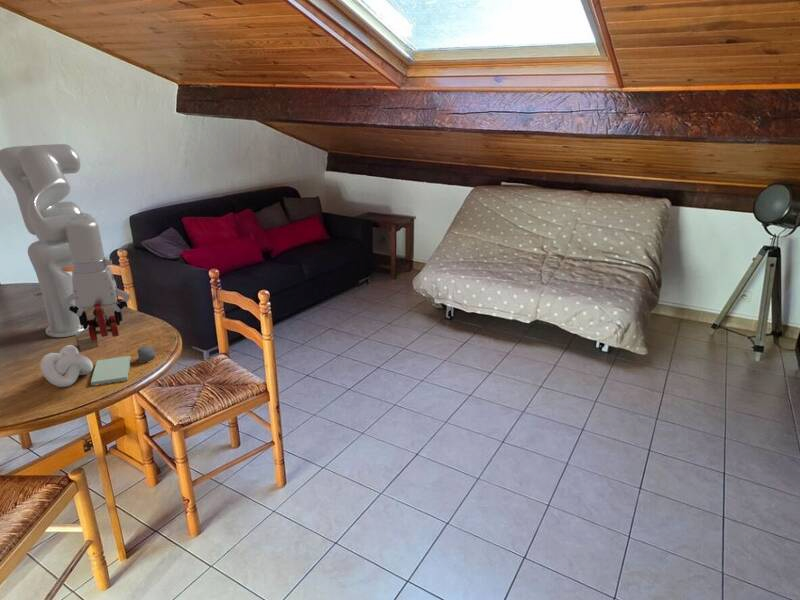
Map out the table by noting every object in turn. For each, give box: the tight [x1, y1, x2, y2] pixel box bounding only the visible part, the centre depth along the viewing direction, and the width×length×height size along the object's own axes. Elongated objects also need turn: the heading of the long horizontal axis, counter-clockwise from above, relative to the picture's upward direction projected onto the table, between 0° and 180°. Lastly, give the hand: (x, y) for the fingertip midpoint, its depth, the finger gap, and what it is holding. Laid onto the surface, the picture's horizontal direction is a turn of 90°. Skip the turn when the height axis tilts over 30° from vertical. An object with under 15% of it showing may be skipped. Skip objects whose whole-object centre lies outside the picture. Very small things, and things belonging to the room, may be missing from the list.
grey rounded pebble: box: [137, 345, 156, 363], centre depth 156 cm, size 4×4×4 cm
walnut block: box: [74, 331, 100, 352], centre depth 163 cm, size 5×5×4 cm
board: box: [90, 355, 132, 386], centre depth 149 cm, size 13×9×1 cm
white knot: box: [40, 344, 94, 388], centre depth 144 cm, size 11×12×9 cm
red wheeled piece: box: [87, 304, 119, 341], centre depth 143 cm, size 7×12×10 cm, turn 32°
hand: (102, 324), depth 143 cm, fingers closed on red wheeled piece, 7 cm apart
